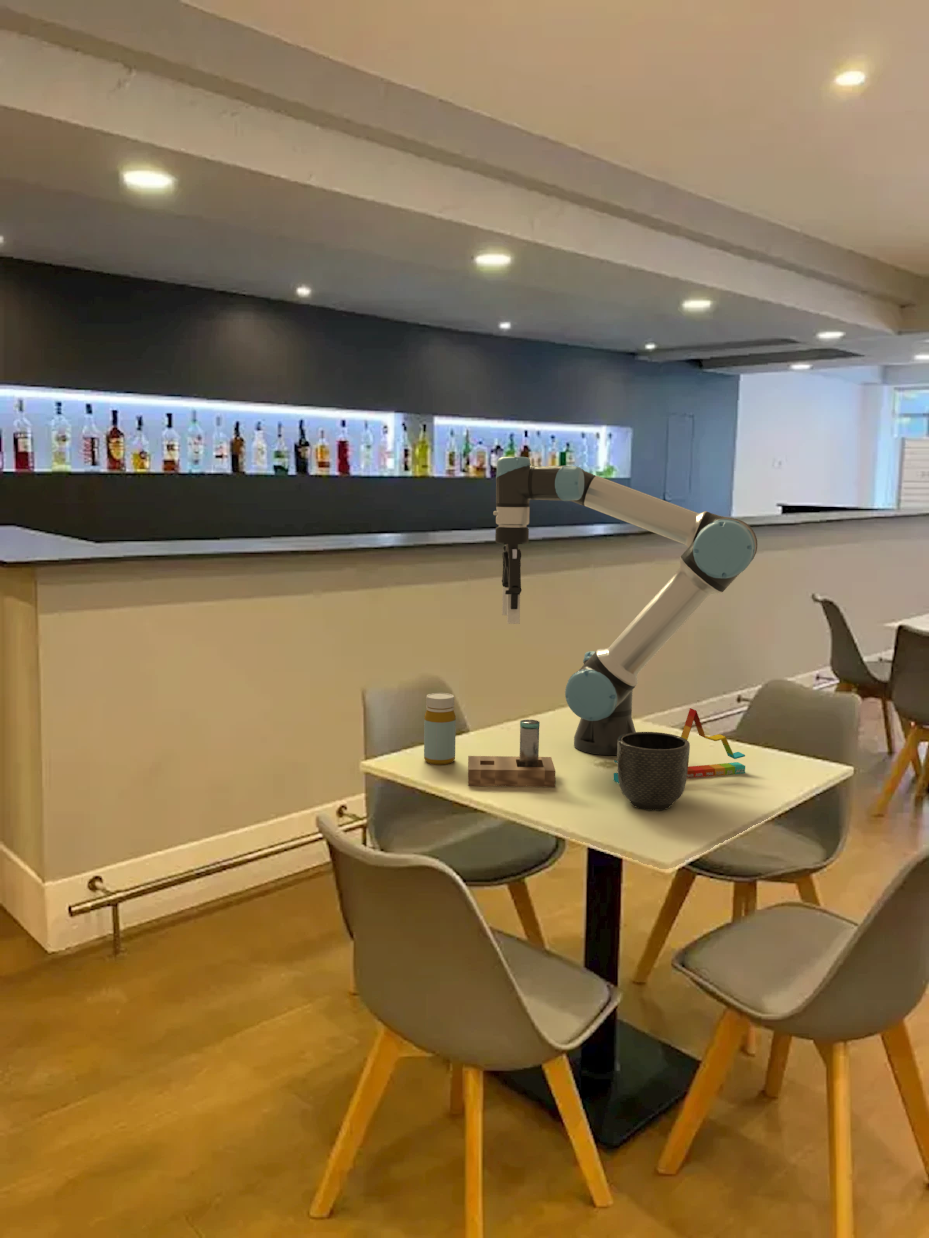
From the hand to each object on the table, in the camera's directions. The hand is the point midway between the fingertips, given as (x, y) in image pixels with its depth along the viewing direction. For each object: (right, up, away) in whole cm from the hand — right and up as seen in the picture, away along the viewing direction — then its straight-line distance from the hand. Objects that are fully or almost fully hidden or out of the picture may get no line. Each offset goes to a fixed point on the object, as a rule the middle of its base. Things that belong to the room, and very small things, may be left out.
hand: (510, 619), depth 223 cm
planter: (+26, -37, -31) cm, 54 cm away
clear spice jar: (+3, -34, -16) cm, 37 cm away
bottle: (-16, -32, -3) cm, 36 cm away
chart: (+36, -35, -12) cm, 51 cm away
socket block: (-1, -34, -16) cm, 37 cm away
